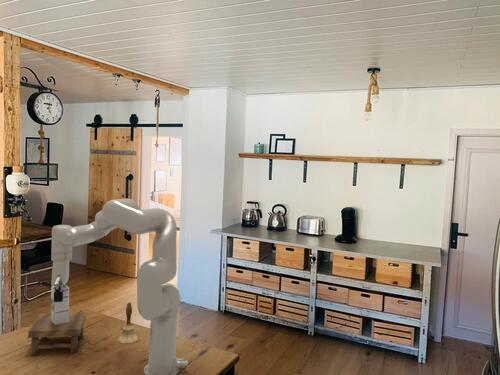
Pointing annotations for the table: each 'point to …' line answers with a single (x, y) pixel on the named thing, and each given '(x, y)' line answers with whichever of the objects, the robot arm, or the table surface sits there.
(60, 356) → the table surface
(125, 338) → the hand bell
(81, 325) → the tan broad flat fixture
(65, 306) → the syrup box
